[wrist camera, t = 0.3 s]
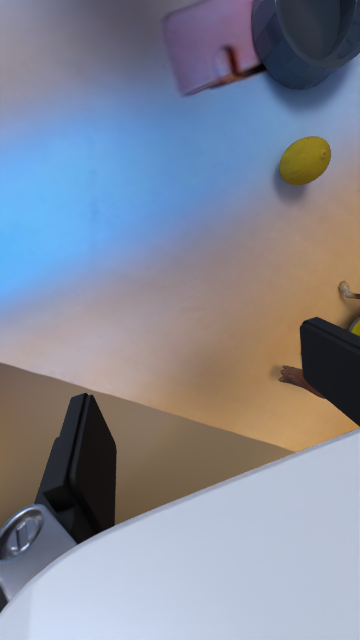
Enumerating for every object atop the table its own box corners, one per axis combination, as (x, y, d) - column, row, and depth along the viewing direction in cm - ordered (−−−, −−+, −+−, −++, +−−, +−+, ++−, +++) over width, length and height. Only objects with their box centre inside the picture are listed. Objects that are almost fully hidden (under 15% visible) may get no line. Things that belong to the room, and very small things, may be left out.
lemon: (306, 152, 38) (350, 133, 31) (296, 192, 40) (335, 183, 33) (274, 142, 37) (312, 121, 29) (265, 184, 39) (298, 174, 31)
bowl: (241, -47, 29) (265, -105, 24) (348, -68, 31) (393, -127, 26) (258, 102, 35) (282, 80, 30) (349, 78, 36) (386, 54, 31)
